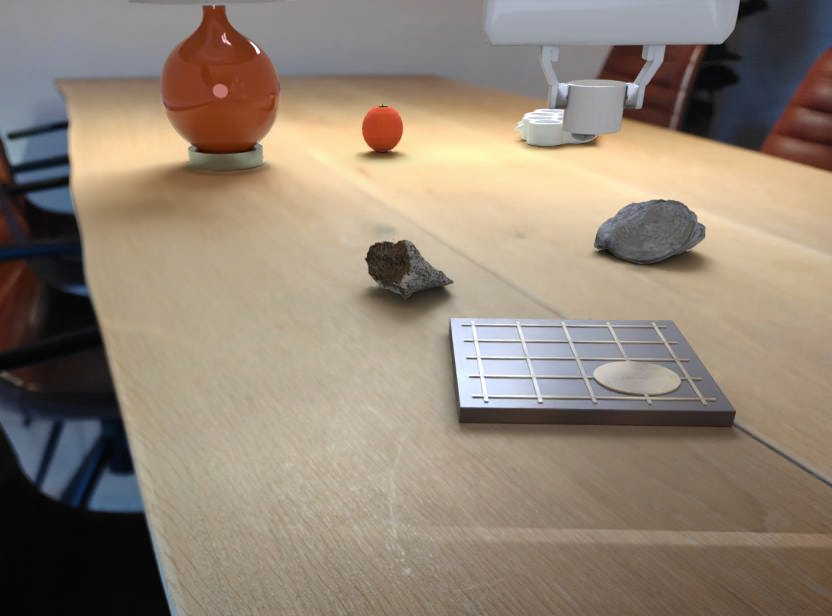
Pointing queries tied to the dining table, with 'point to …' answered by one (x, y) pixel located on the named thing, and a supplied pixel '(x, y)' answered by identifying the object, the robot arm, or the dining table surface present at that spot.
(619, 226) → the fossilized seashell
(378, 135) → the clementine
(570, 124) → the gray cylinder
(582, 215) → the dining table surface
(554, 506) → the dining table surface
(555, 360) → the game board
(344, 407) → the dining table surface
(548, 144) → the white flat lobed block
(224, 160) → the lamp
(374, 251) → the rock sample
